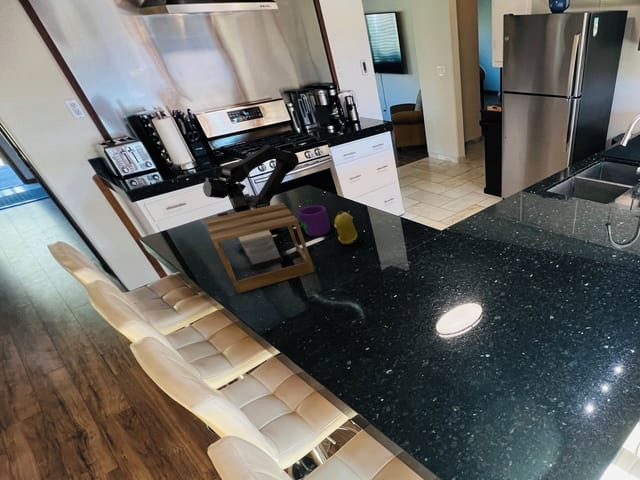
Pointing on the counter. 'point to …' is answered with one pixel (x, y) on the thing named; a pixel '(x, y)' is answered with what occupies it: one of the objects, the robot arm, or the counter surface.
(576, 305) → the counter surface
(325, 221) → the mug
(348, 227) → the yellow rounded lump
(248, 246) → the grey lidded shoebox
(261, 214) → the shoe rack
